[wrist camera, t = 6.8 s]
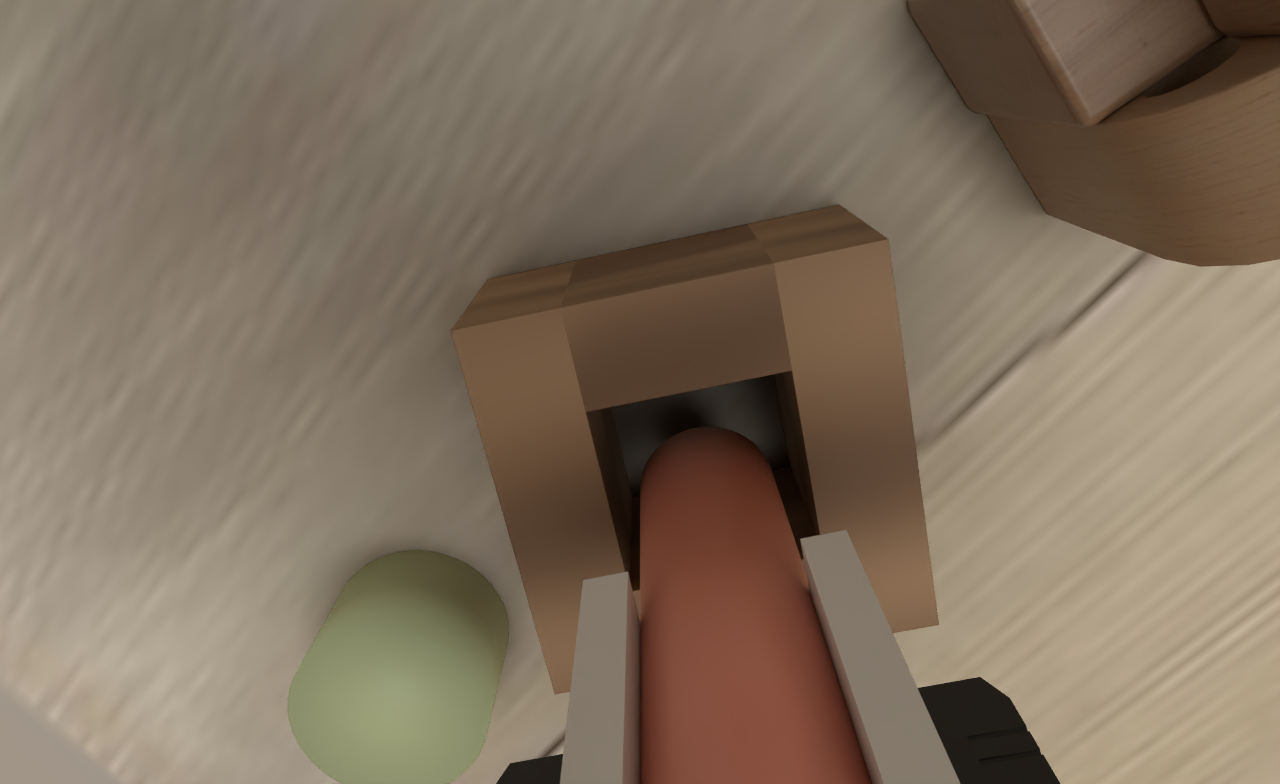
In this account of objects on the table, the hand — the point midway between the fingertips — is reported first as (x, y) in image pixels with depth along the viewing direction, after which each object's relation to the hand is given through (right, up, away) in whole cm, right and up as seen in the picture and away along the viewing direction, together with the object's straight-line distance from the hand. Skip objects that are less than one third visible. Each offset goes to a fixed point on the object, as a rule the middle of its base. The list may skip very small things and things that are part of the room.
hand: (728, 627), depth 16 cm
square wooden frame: (0, +3, +10) cm, 10 cm away
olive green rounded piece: (-8, -3, +12) cm, 14 cm away
